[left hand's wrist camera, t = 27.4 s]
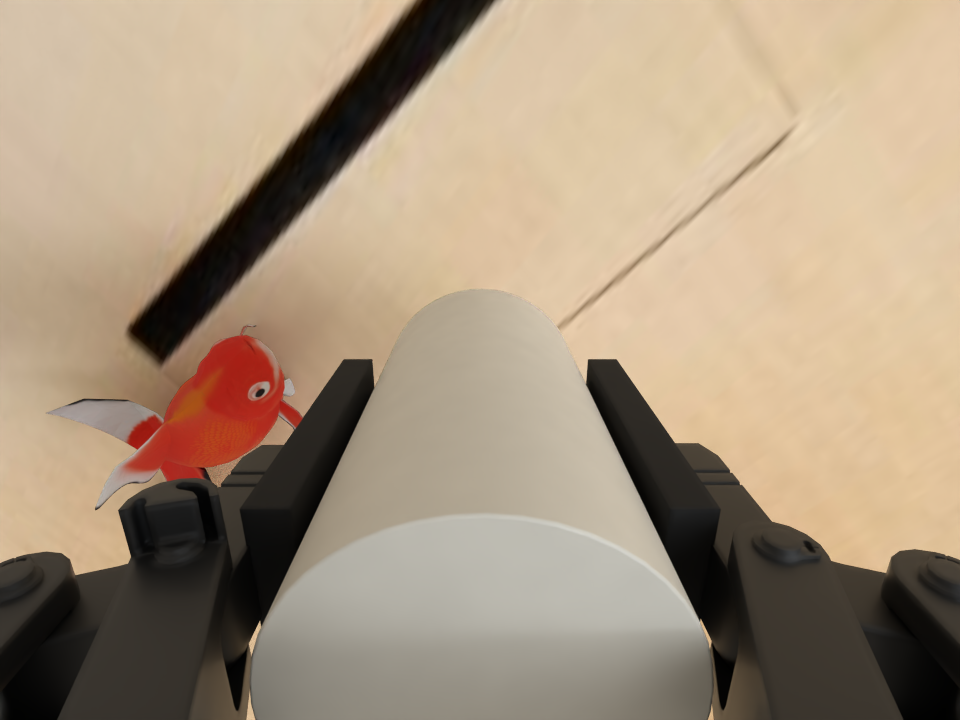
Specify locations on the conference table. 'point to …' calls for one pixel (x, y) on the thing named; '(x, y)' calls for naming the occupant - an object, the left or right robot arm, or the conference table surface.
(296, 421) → the fish
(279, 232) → the conference table surface
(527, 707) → the can
